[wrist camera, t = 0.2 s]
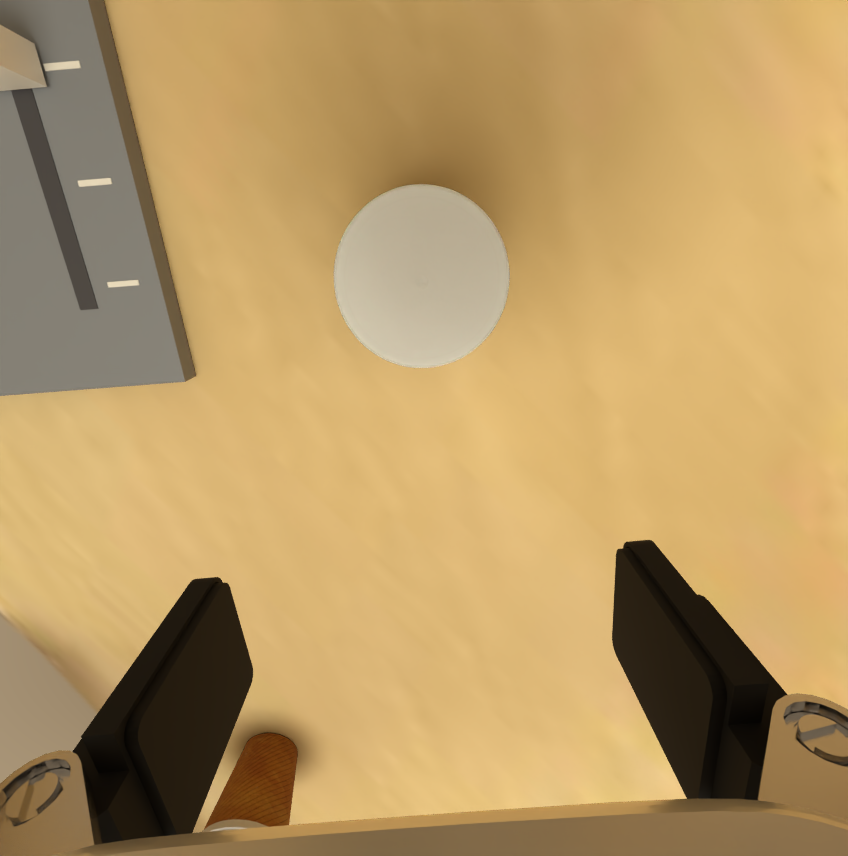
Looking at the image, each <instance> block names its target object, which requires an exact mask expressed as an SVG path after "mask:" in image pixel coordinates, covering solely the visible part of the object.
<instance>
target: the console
mask: <svg viewBox="0 0 848 856" xmlns="http://www.w3.org/2000/svg"><path fill="white" fill-rule="evenodd" d="M0 25H2V26H4V27H5V28H7V29H9V30H11V31H13V32H14V33H16V34H18V35H20V36H22V37H23V38H25V39H27V40H29V41H31V42H32V43H34V44H35V48H36V51H37V54H38V58H39V61H40V65H41V68H42V72H43V75H44V78H45V82H46V85H47V87H40V88H29V89H18V90H7V91H0V396H5V395H18V394H31V393H44V392H57V391H70V390H83V389H96V388H109V387H122V386H135V385H148V384H161V383H174V382H186V381H187V380H189V379H191V378H193V377H195V376H196V374H195V370H194V366H193V362H192V358H191V353H190V349H189V345H188V341H187V337H186V333H185V329H184V325H183V321H182V317H181V313H180V309H179V305H178V301H177V296H176V292H175V288H174V284H173V280H172V276H171V272H170V268H169V264H168V260H167V256H166V252H165V248H164V244H163V240H162V235H161V231H160V227H159V223H158V219H157V215H156V211H155V207H154V203H153V199H152V195H151V191H150V187H149V183H148V178H147V174H146V170H145V166H144V162H143V158H142V154H141V150H140V146H139V142H138V138H137V134H136V130H135V126H134V121H133V117H132V113H131V109H130V105H129V101H128V97H127V93H126V89H125V85H124V81H123V77H122V73H121V69H120V65H119V60H118V56H117V52H116V48H115V44H114V40H113V36H112V32H111V28H110V24H109V20H108V16H107V12H106V8H105V3H104V0H0Z"/></svg>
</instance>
